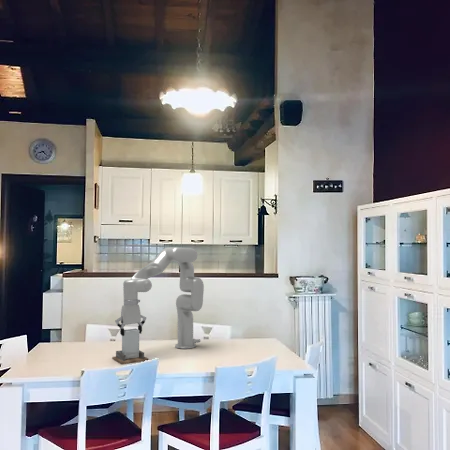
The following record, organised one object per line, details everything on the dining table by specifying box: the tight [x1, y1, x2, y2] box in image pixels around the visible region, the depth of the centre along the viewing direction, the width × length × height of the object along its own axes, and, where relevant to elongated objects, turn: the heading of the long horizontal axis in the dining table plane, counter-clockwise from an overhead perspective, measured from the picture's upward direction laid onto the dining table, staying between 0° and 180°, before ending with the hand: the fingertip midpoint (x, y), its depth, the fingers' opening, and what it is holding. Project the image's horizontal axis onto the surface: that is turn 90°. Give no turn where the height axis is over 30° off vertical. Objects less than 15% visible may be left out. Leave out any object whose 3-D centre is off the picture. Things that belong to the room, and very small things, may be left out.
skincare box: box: [121, 328, 140, 359], centre depth 245 cm, size 8×6×15 cm
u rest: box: [111, 349, 150, 365], centre depth 245 cm, size 15×15×4 cm
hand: (131, 334), depth 246 cm, fingers open, 9 cm apart
